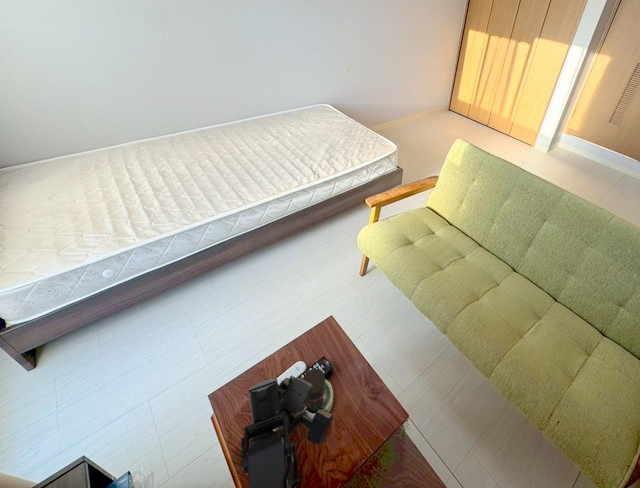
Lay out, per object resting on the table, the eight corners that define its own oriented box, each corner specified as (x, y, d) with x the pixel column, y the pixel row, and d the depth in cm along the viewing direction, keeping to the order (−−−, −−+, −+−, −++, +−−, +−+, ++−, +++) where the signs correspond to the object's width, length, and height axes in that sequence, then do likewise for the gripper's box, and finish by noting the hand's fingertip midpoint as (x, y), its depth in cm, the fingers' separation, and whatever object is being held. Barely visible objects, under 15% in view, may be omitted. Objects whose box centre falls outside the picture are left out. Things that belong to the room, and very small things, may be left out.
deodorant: (325, 412, 89) (324, 391, 80) (304, 414, 88) (301, 393, 79) (326, 389, 93) (325, 367, 85) (306, 391, 92) (303, 369, 84)
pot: (310, 431, 85) (310, 425, 83) (292, 401, 90) (291, 395, 88) (339, 403, 92) (339, 397, 89) (320, 376, 97) (320, 370, 94)
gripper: (328, 412, 65) (351, 381, 80) (257, 373, 69) (291, 351, 84) (308, 466, 63) (335, 424, 78) (236, 423, 67) (275, 391, 82)
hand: (309, 396), depth 81 cm, fingers open, 9 cm apart
